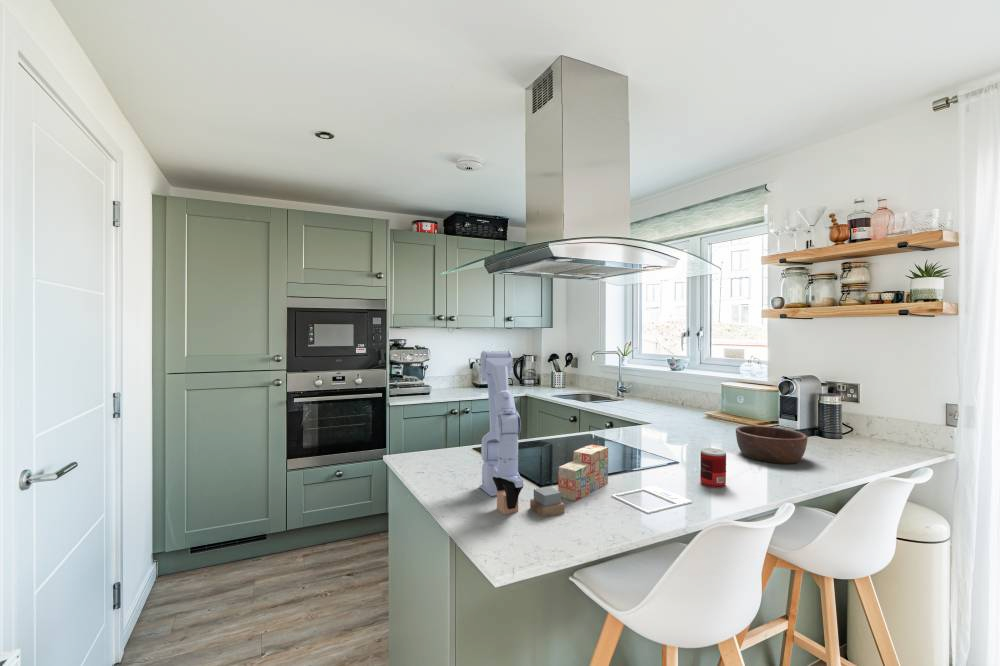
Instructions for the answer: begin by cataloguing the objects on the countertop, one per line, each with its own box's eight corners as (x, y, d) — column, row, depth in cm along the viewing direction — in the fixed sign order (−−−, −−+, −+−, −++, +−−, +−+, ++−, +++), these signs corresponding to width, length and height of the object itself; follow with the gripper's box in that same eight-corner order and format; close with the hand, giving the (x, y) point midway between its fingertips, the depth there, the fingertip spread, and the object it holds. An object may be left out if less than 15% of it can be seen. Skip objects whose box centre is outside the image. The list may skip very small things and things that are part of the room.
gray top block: (533, 500, 130) (533, 489, 130) (549, 496, 133) (549, 486, 133) (544, 506, 125) (544, 495, 125) (561, 503, 128) (561, 492, 128)
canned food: (727, 482, 154) (727, 450, 154) (723, 489, 147) (724, 455, 147) (702, 478, 158) (703, 446, 158) (698, 485, 151) (698, 451, 151)
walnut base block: (530, 509, 131) (530, 499, 131) (551, 505, 134) (551, 495, 134) (542, 518, 125) (543, 507, 125) (564, 514, 128) (564, 503, 128)
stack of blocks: (575, 502, 136) (575, 460, 136) (557, 497, 140) (557, 456, 140) (608, 483, 153) (608, 446, 152) (591, 479, 157) (591, 443, 156)
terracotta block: (496, 508, 130) (496, 491, 130) (510, 505, 132) (511, 488, 132) (503, 514, 126) (503, 496, 126) (518, 511, 128) (518, 493, 128)
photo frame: (692, 500, 136) (647, 511, 127) (692, 504, 136) (647, 515, 127) (654, 485, 149) (611, 494, 140) (654, 488, 149) (611, 498, 140)
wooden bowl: (730, 446, 201) (730, 423, 201) (796, 452, 194) (796, 427, 193) (741, 462, 178) (741, 436, 177) (816, 469, 170) (817, 441, 170)
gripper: (484, 452, 134) (484, 498, 134) (506, 465, 121) (506, 517, 121) (506, 449, 137) (505, 494, 137) (530, 462, 124) (529, 512, 124)
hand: (507, 505), depth 129 cm, fingers closed on terracotta block, 4 cm apart
